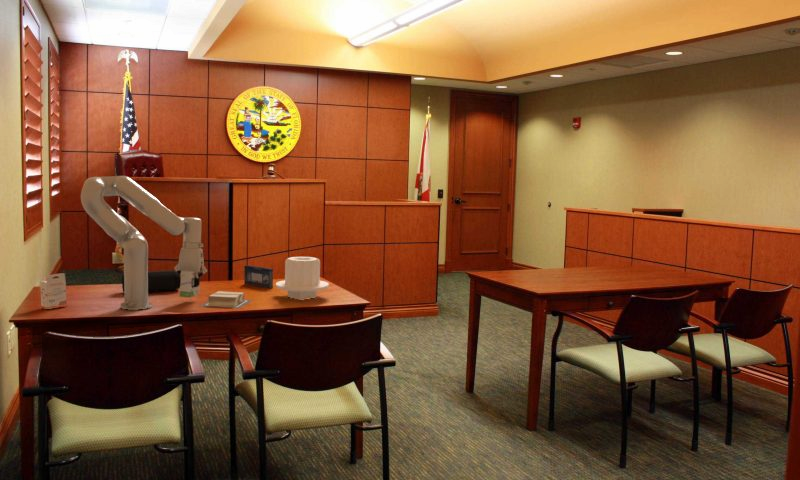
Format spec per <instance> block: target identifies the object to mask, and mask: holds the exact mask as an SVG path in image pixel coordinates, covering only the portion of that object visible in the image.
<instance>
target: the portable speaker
mask: <svg viewBox="0 0 800 480" xmlns="http://www.w3.org/2000/svg"><path fill="white" fill-rule="evenodd" d="M180 284H181V277H180V275H179V274H178V273H177V271H176V270H175V269H174V270H173V269H172V270H155V271H153V270H152V271H151V270H150V271H149V270H148V293H161V292H174V291H177V290H180ZM121 287H122V292H123V293H124V273H123V274H122V275H121Z"/></svg>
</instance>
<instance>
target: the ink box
mask: <svg viewBox="0 0 800 480" xmlns="http://www.w3.org/2000/svg"><path fill="white" fill-rule="evenodd" d="M195 278H196V276H195V272H194V271H188V270H182V271H181V277H180V281H181V283H180V288H179V297H182V298H193V297H195V296H198V295H199V294H200V285H199V286H198V287H194V282H195Z"/></svg>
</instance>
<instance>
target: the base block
mask: <svg viewBox="0 0 800 480" xmlns="http://www.w3.org/2000/svg"><path fill="white" fill-rule="evenodd" d="M244 300H245V292H242V291H225V290H218V291H216V292H214V293H212V294H210V295H209V296H208V301H209V305H215V306H232V307H235V306H237V305H239V304H240V303H242V302H244Z"/></svg>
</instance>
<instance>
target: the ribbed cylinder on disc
mask: <svg viewBox="0 0 800 480" xmlns="http://www.w3.org/2000/svg"><path fill="white" fill-rule="evenodd" d="M329 286H330V283H328V282H327V281H323V280H321V260H320V258H317V257H313V256H291V257H287V258H286V259H285V261H284V280H279V281H277V282H276V283H275V288H277V289H279V290H283V291H287V298H288V297H290V298H289V299H292V298H295V299H294V300H296V299H299V300H302V299H307V298H313V297H317V295H318V294H317V291H323V290H326V289H328V288H329ZM299 300H298V301H299ZM302 301H303V300H302Z"/></svg>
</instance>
